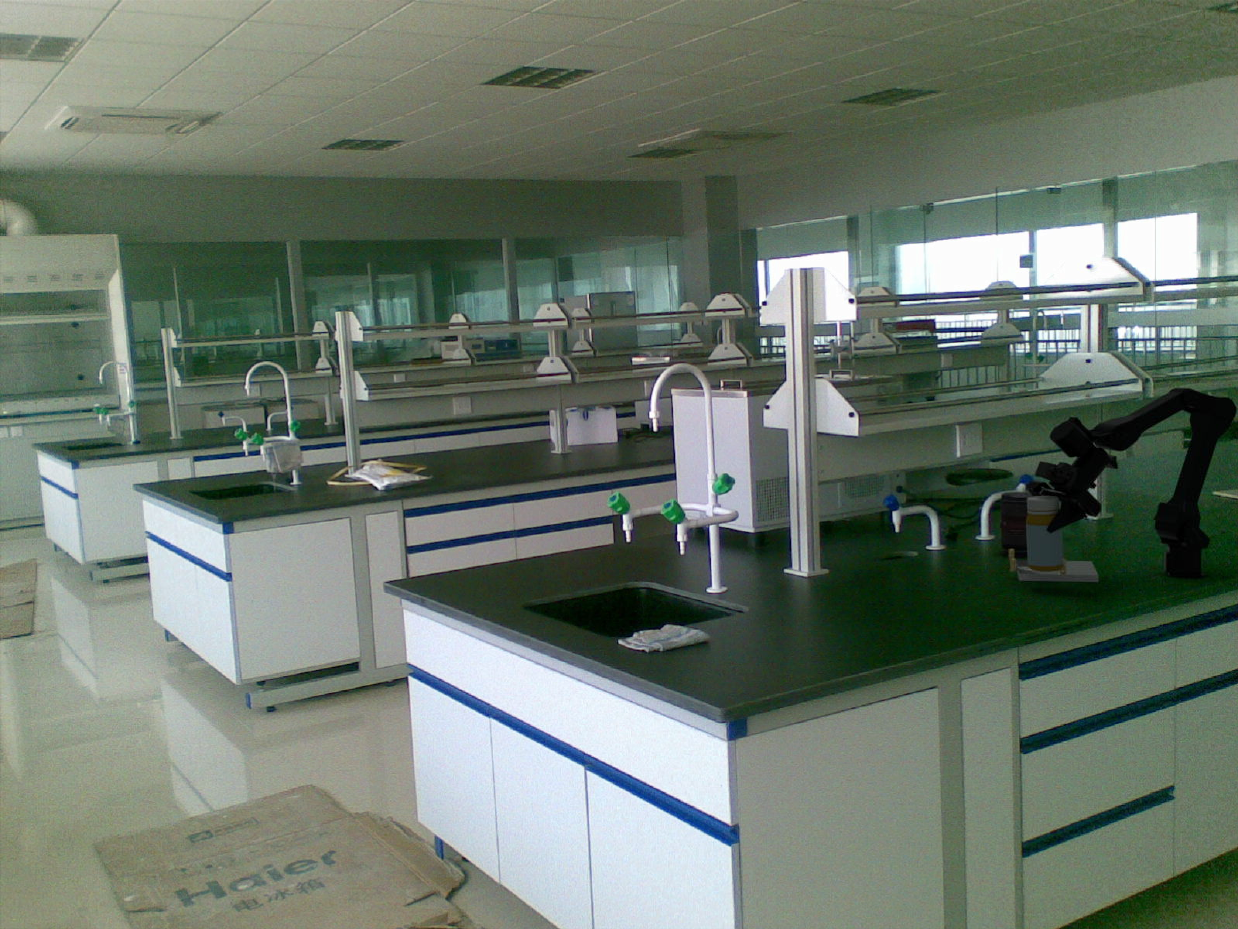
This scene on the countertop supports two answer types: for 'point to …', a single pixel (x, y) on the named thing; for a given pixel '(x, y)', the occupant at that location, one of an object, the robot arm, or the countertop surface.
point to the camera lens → (1014, 523)
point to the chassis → (1069, 572)
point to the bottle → (1043, 535)
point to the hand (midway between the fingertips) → (1038, 528)
